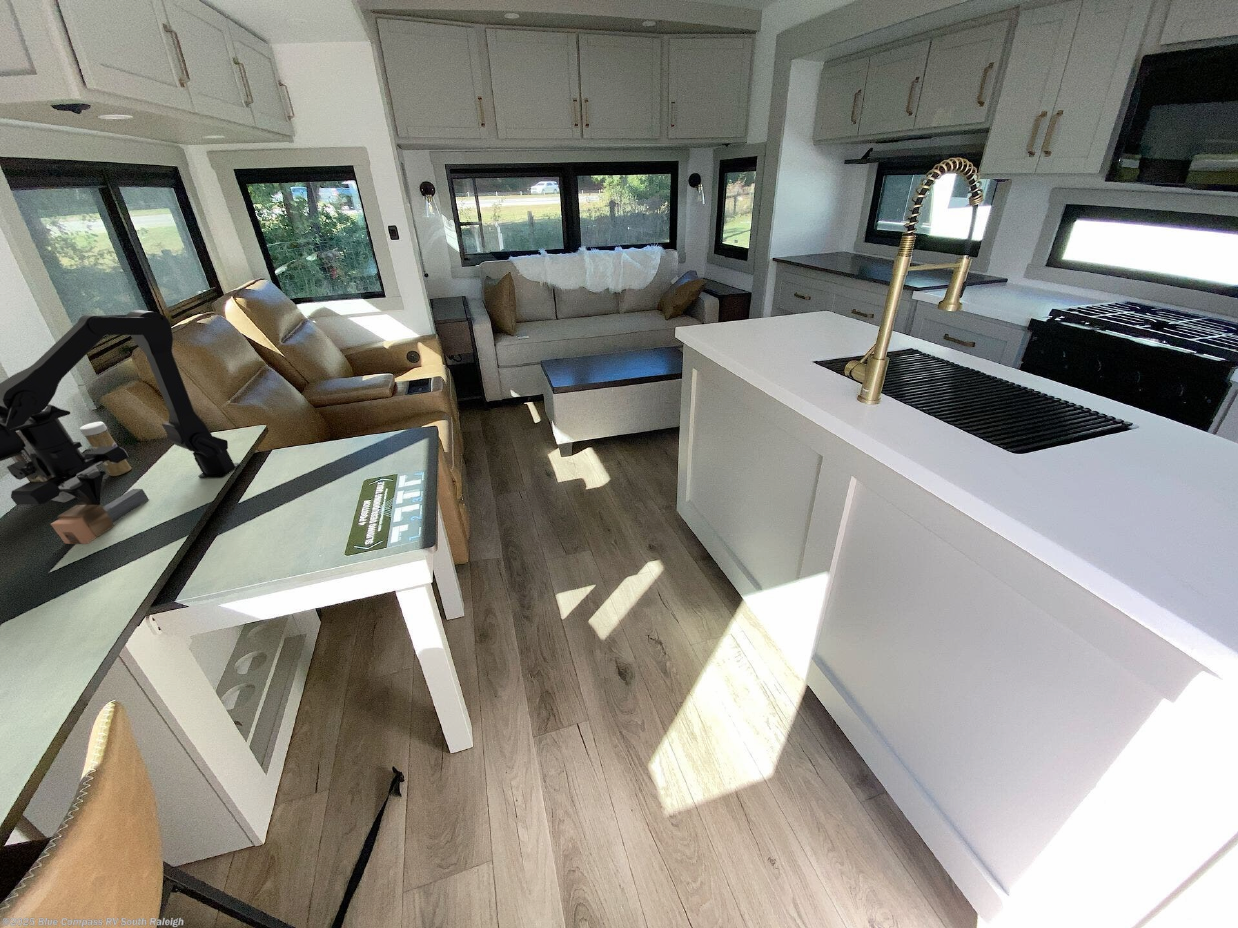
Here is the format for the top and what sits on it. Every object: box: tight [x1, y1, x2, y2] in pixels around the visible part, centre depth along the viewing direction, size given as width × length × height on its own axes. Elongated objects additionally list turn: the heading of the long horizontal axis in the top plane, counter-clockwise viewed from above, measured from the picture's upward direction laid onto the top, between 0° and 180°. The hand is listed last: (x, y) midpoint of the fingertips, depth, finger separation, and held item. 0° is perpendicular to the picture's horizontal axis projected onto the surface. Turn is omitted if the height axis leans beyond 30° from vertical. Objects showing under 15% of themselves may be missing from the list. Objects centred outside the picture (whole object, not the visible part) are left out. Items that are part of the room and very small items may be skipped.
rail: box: [62, 488, 150, 545], centre depth 112 cm, size 16×2×3 cm, turn 175°
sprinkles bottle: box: [79, 421, 132, 477], centre depth 129 cm, size 5×5×13 cm
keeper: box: [57, 504, 116, 538], centre depth 108 cm, size 4×6×5 cm
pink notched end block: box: [50, 518, 97, 545], centre depth 106 cm, size 2×5×5 cm, turn 85°
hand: (96, 507), depth 110 cm, fingers closed
